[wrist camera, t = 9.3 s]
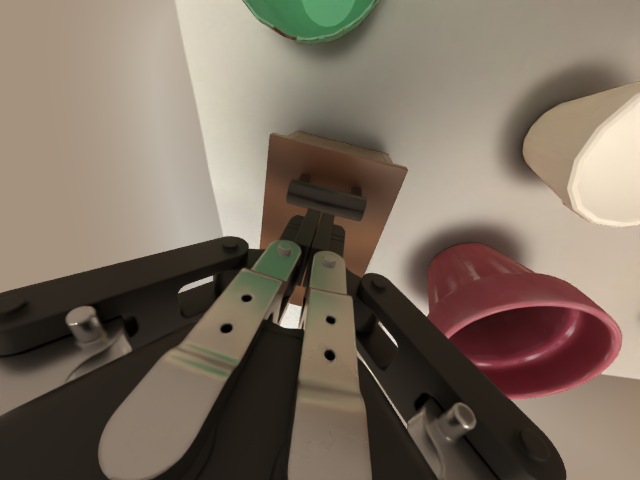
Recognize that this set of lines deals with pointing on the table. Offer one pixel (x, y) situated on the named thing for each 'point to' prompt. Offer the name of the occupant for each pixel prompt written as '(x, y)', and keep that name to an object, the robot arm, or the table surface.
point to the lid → (329, 195)
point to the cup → (592, 155)
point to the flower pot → (519, 322)
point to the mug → (311, 17)
